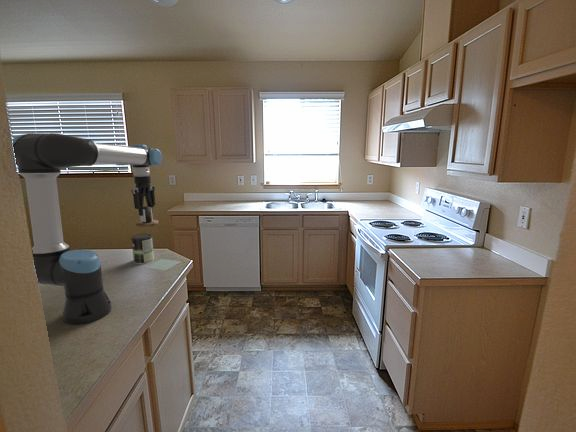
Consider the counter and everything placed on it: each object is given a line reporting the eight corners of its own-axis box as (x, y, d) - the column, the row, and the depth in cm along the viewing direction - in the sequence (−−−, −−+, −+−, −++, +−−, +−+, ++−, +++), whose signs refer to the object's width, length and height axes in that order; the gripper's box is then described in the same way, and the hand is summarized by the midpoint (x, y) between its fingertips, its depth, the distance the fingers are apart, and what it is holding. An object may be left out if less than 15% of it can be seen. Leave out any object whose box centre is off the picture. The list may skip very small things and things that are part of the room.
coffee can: (133, 265, 161) (130, 239, 158) (133, 259, 170) (131, 234, 167) (154, 262, 166) (152, 237, 163) (154, 256, 175) (151, 232, 172)
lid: (147, 227, 155) (146, 209, 153) (130, 226, 158) (128, 208, 156) (163, 222, 165) (161, 205, 163) (146, 221, 169) (144, 204, 167)
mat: (165, 271, 154) (165, 270, 154) (144, 268, 158) (144, 267, 158) (181, 262, 166) (181, 261, 166) (161, 259, 170) (161, 258, 170)
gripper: (134, 177, 147) (139, 225, 152) (160, 174, 163) (164, 217, 168) (122, 177, 149) (127, 223, 155) (148, 174, 165) (153, 216, 171)
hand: (146, 220), depth 161 cm, fingers closed on lid, 4 cm apart
